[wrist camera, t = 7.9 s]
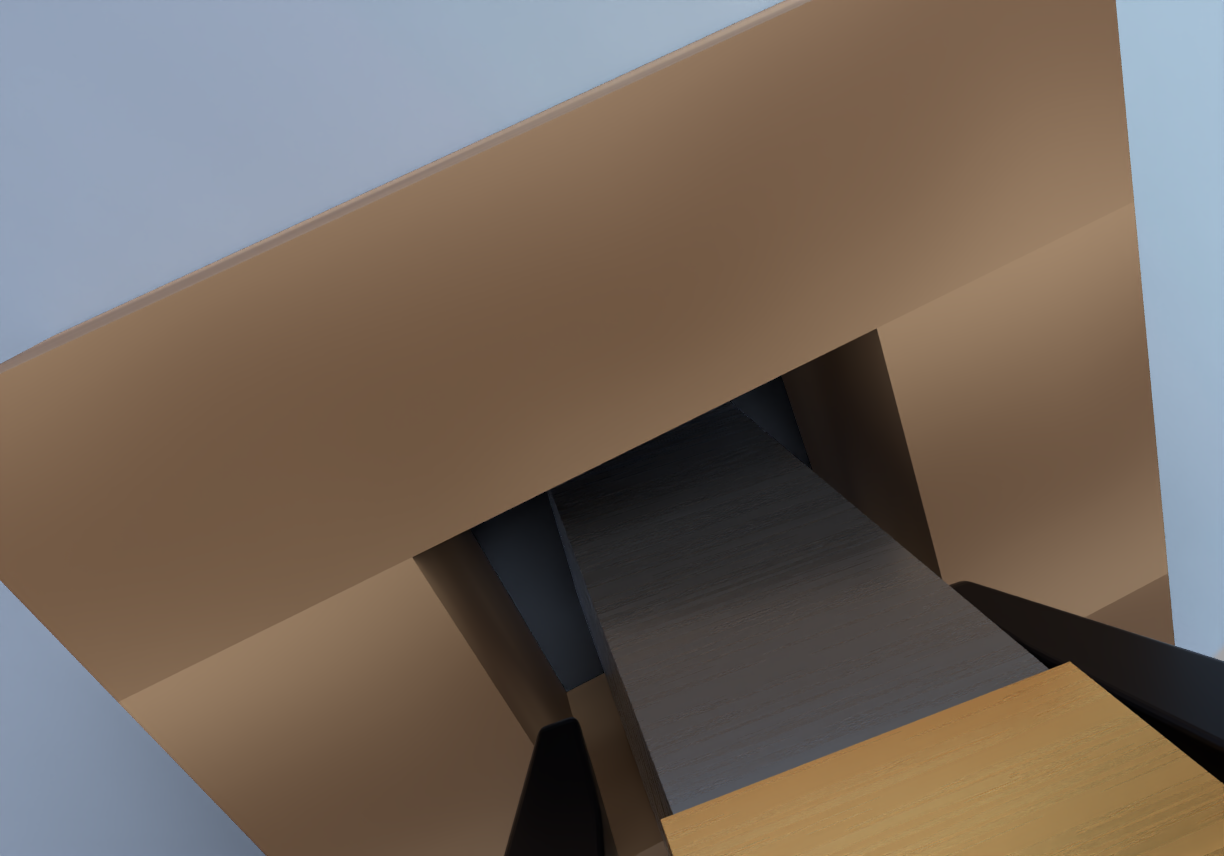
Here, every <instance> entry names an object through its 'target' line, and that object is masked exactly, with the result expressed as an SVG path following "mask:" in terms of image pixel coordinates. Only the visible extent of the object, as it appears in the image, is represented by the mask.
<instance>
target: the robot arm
mask: <svg viewBox="0 0 1224 856" xmlns="http://www.w3.org/2000/svg"><path fill="white" fill-rule="evenodd" d="M949 586H950V587H952V588H953V589H954V590H955V591H956V592H958V593H959V594H960V595H961V596H962V597H964V598H965V599H966V600H967V601H968V602H970V603H971V604H972V605H973V606H974V607H976V608H977V609H978V610H979V611H980V612H981V613H983V614H984V615H985V616H986V617H987V618H989V619H990V620H991V621H992V622H993V623H995V624H996V625H997V626H998V627H999V628H1001V629H1002V630H1003V631H1004V632H1005V633H1007V634H1008V635H1009V636H1010V637H1011V638H1013V639H1014V640H1015V641H1016V642H1017V643H1019V644H1020V645H1021V646H1022V647H1023V648H1024V649H1026V650H1027V651H1028V652H1029V653H1030V654H1032V655H1033V656H1034V657H1035V658H1036V659H1038V660H1039V661H1040V662H1041V663H1042V664H1044V665H1045V666H1046V667H1047V668H1048V669H1052V668H1054V667H1057V666H1060V665H1062V664H1065V663H1067V662H1071V663H1072V664H1074V665H1075V666H1076V667H1077V668H1079V669H1080V670H1081V671H1082V672H1084V673H1085V674H1086V675H1087V676H1089V677H1090V678H1091V679H1092V680H1094V681H1095V682H1096V683H1097V684H1099V685H1100V686H1101V687H1102V688H1104V689H1105V690H1106V691H1107V692H1109V693H1110V694H1111V695H1112V696H1114V697H1115V698H1116V699H1117V700H1119V701H1120V702H1121V703H1122V704H1124V705H1125V706H1126V707H1127V708H1129V709H1130V710H1131V711H1133V712H1134V713H1135V714H1136V715H1138V716H1139V717H1140V718H1141V719H1143V720H1144V721H1145V722H1146V723H1148V724H1149V725H1150V726H1151V727H1153V728H1154V729H1155V730H1156V731H1158V732H1159V733H1160V734H1161V735H1163V736H1164V737H1165V738H1166V739H1168V740H1169V741H1170V742H1171V743H1173V744H1174V745H1175V746H1176V747H1178V748H1179V749H1180V750H1181V751H1183V752H1184V753H1185V754H1186V755H1188V756H1189V757H1190V758H1191V759H1193V760H1194V761H1195V762H1196V763H1198V764H1199V765H1200V766H1201V767H1203V768H1204V769H1205V770H1206V771H1208V772H1209V773H1210V774H1211V775H1213V776H1214V777H1215V778H1216V779H1218V780H1219V781H1220V782H1221V783H1223V784H1224V661H1221V660H1218V659H1215V658H1212V657H1209V656H1206V655H1202V654H1199V653H1196V652H1193V651H1190V650H1187V649H1183V648H1180V647H1177V646H1174V645H1171V644H1167V643H1164V642H1161V641H1158V640H1155V639H1152V638H1148V637H1145V636H1142V635H1139V634H1136V633H1133V632H1129V631H1126V630H1123V629H1120V628H1117V627H1114V626H1110V625H1107V624H1104V623H1101V622H1098V621H1094V620H1091V619H1088V618H1085V617H1082V616H1079V615H1075V614H1072V613H1069V612H1066V611H1063V610H1060V609H1056V608H1053V607H1050V606H1047V605H1044V604H1041V603H1037V602H1034V601H1031V600H1028V599H1025V598H1021V597H1018V596H1015V595H1012V594H1009V593H1006V592H1002V591H999V590H996V589H993V588H990V587H987V586H983V585H980V584H977V583H974V582H970V581H959V582H956V583H953V584H950V585H949ZM504 856H618V852H617V849H616V845H615V842H614V838H613V835H612V831H611V828H610V824H609V821H608V817H607V814H606V810H605V807H604V803H603V800H602V796H601V792H600V789H599V786H598V782H597V779H596V775H595V772H594V769H593V765H592V762H591V759H590V756H589V752H588V749H587V746H586V743H585V739H584V736H583V733H582V730H581V726H580V723H579V721H578V720H577V719H576V718H574V717H569V718H567V719H564V720H561V721H558V722H555V723H552V724H549V725H547V726H544V727H542V728H541V729H540V730H539V732H538V735H537V738H536V741H535V745H534V748H533V752H532V756H531V759H530V763H529V766H528V770H527V774H526V777H525V781H524V785H523V788H522V792H521V795H520V799H519V803H518V806H517V810H516V813H515V817H514V821H513V824H512V828H511V831H510V835H509V839H508V842H507V846H506V849H505V853H504Z"/></svg>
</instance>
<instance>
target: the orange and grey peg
mask: <svg viewBox="0 0 1224 856" xmlns="http://www.w3.org/2000/svg"><path fill="white" fill-rule="evenodd" d="M547 493H548V497H549V500H550V504H551V507H552V510H553V514H554V517H555V521H556V524H557V527H558V531H559V534H560V538H561V541H562V544H563V548H564V551H565V554H566V558H567V561H568V565H569V568H570V571H571V575H572V578H573V582H574V585H575V588H576V592H577V595H578V599H579V602H580V605H581V608H582V610H583V613H584V616H585V619H586V622H587V625H588V627H589V630H590V633H591V636H592V639H593V642H594V645H595V647H596V650H597V653H598V656H599V659H600V662H601V665H602V667H603V670H604V673H605V676H606V679H607V682H608V685H609V687H610V690H611V693H612V696H613V699H614V702H615V705H616V707H617V710H618V713H619V716H620V719H621V722H622V724H623V727H624V730H625V733H626V736H627V739H628V742H629V744H630V747H631V750H632V753H633V756H634V759H635V762H636V764H637V767H638V770H639V773H640V776H641V779H642V782H643V784H644V787H645V790H646V793H647V796H648V799H649V802H650V804H651V807H652V810H653V813H654V816H655V819H656V821H657V824H658V827H659V830H660V833H661V836H662V839H663V841H664V844H665V847H666V850H667V853H668V856H1224V784H1223V783H1221V782H1220V781H1219V780H1218V779H1216V778H1215V777H1214V776H1213V775H1211V774H1210V773H1209V772H1208V771H1206V770H1205V769H1204V768H1203V767H1201V766H1200V765H1199V764H1198V763H1196V762H1195V761H1194V760H1193V759H1191V758H1190V757H1189V756H1188V755H1186V754H1185V753H1184V752H1183V751H1181V750H1180V749H1179V748H1178V747H1176V746H1175V745H1174V744H1173V743H1171V742H1170V741H1169V740H1168V739H1166V738H1165V737H1164V736H1163V735H1161V734H1160V733H1159V732H1158V731H1156V730H1155V729H1154V728H1153V727H1151V726H1150V725H1149V724H1148V723H1146V722H1145V721H1144V720H1143V719H1141V718H1140V717H1139V716H1138V715H1136V714H1135V713H1134V712H1133V711H1131V710H1130V709H1129V708H1127V707H1126V706H1125V705H1124V704H1122V703H1121V702H1120V701H1119V700H1117V699H1116V698H1115V697H1114V696H1112V695H1111V694H1110V693H1109V692H1107V691H1106V690H1105V689H1104V688H1102V687H1101V686H1100V685H1099V684H1097V683H1096V682H1095V681H1094V680H1092V679H1091V678H1090V677H1089V676H1087V675H1086V674H1085V673H1084V672H1082V671H1081V670H1080V669H1079V668H1077V667H1076V666H1075V665H1074V664H1072V663H1071V662H1067V663H1065V664H1062V665H1060V666H1057V667H1054V668H1052V669H1048V668H1047V667H1046V666H1045V665H1044V664H1042V663H1041V662H1040V661H1039V660H1038V659H1036V658H1035V657H1034V656H1033V655H1032V654H1030V653H1029V652H1028V651H1027V650H1026V649H1024V648H1023V647H1022V646H1021V645H1020V644H1019V643H1017V642H1016V641H1015V640H1014V639H1013V638H1011V637H1010V636H1009V635H1008V634H1007V633H1005V632H1004V631H1003V630H1002V629H1001V628H999V627H998V626H997V625H996V624H995V623H993V622H992V621H991V620H990V619H989V618H987V617H986V616H985V615H984V614H983V613H981V612H980V611H979V610H978V609H977V608H976V607H974V606H973V605H972V604H971V603H970V602H968V601H967V600H966V599H965V598H964V597H962V596H961V595H960V594H959V593H958V592H956V591H955V590H954V589H953V588H952V587H950V586H949V585H948V584H947V583H946V582H944V581H943V580H942V579H941V578H940V577H938V576H937V575H936V574H935V573H934V572H933V571H931V570H930V569H929V568H928V567H927V566H925V565H924V564H923V563H922V562H921V561H919V560H918V559H917V558H916V557H915V556H913V555H912V554H911V553H910V552H909V551H907V550H906V549H905V548H904V547H903V546H901V545H900V544H899V543H898V542H897V541H896V540H894V539H893V538H892V537H891V536H890V535H888V534H887V533H886V532H885V531H884V530H882V529H881V528H880V527H879V526H878V525H876V524H875V523H874V522H873V521H872V520H870V519H869V518H868V517H867V516H866V515H864V514H863V513H862V512H861V511H860V510H858V509H857V508H856V507H855V506H854V505H853V504H851V503H850V502H849V501H848V500H847V499H845V498H844V497H843V496H842V495H841V494H839V493H838V492H837V491H836V490H835V489H833V488H832V487H831V486H830V485H829V484H827V483H826V482H825V481H824V480H823V479H821V478H820V477H819V476H818V475H817V474H816V473H814V472H813V471H812V470H811V469H810V468H808V467H807V466H806V465H805V464H804V463H802V462H801V461H800V460H799V459H798V458H796V457H795V456H794V455H793V454H792V453H790V452H789V451H788V450H787V449H786V448H784V447H783V446H782V445H781V444H780V443H778V442H777V441H776V440H775V439H774V438H773V437H771V436H770V435H769V434H768V433H767V432H765V431H764V430H763V429H762V428H761V427H759V426H758V425H757V424H756V423H755V422H753V421H752V420H751V419H750V418H749V417H747V416H746V415H745V414H744V413H743V412H741V411H740V410H739V409H738V408H737V407H735V406H734V405H733V404H732V403H731V402H730V401H728V402H726V403H724V404H722V405H720V406H718V407H716V408H714V409H712V410H710V411H708V412H706V413H704V414H702V415H700V416H698V417H696V418H694V419H692V420H690V421H688V422H686V423H683V424H681V425H679V426H677V427H675V428H673V429H671V430H669V431H667V432H665V433H663V434H661V435H659V436H657V437H655V438H653V439H651V440H649V441H647V442H645V443H643V444H641V445H639V446H637V447H635V448H633V449H631V450H629V451H627V452H625V453H623V454H621V455H619V456H616V457H614V458H612V459H610V460H608V461H606V462H604V463H602V464H600V465H598V466H596V467H594V468H592V469H590V470H588V471H586V472H584V473H582V474H580V475H578V476H576V477H574V478H572V479H570V480H568V481H566V482H564V483H562V484H560V485H558V486H556V487H554V488H552V489H550V490H547Z"/></svg>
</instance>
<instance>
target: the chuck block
mask: <svg viewBox="0 0 1224 856" xmlns="http://www.w3.org/2000/svg"><path fill="white" fill-rule="evenodd" d="M779 376H781V377H782V380H783V383H784V386H785V389H786V392H787V395H788V398H789V401H790V404H791V407H792V410H793V413H794V416H795V419H796V422H797V425H798V428H799V431H800V434H801V437H802V440H803V443H804V446H805V449H806V452H807V455H808V458H809V461H810V464H811V467H812V470H813V472H814V473H816V474H817V475H818V476H819V477H820V478H821V479H823V480H824V481H825V482H826V483H827V484H829V485H830V486H831V487H832V488H833V489H835V490H836V491H837V492H838V493H839V494H841V495H842V496H843V497H844V498H845V499H847V500H848V501H849V502H850V503H851V504H853V505H854V506H855V507H856V508H857V509H858V510H860V511H861V512H862V513H863V514H864V515H866V516H867V517H868V518H869V519H870V520H872V521H873V522H874V523H875V524H876V525H878V526H879V527H880V528H881V529H882V530H884V531H885V532H886V533H887V534H888V535H890V536H891V537H892V538H893V539H894V540H896V541H897V542H898V543H899V544H900V545H901V546H903V547H904V548H905V549H906V550H907V551H909V552H910V553H911V554H912V555H913V556H915V557H916V558H917V559H918V560H919V561H921V562H922V563H923V564H924V565H925V566H927V567H928V568H929V569H930V570H931V571H933V572H934V573H935V574H936V575H937V576H938V577H940V578H941V579H942V580H943V581H944V582H946V583H947V584H948V585H950V584H953V583H956V582H959V581H970V582H974V583H977V584H980V585H983V586H987V587H990V588H993V589H996V590H999V591H1002V592H1006V593H1009V594H1012V595H1015V596H1018V597H1021V598H1025V599H1028V600H1031V601H1034V602H1037V603H1041V604H1044V605H1047V606H1050V607H1053V608H1056V609H1060V610H1063V611H1066V612H1069V613H1072V614H1075V615H1079V616H1082V617H1085V618H1088V619H1091V620H1094V621H1098V622H1101V623H1104V624H1107V625H1110V626H1114V627H1117V628H1120V629H1123V630H1126V631H1129V632H1133V633H1136V634H1139V635H1142V636H1145V637H1148V638H1152V639H1155V640H1158V641H1161V642H1164V643H1167V644H1171V645H1174V646H1175V642H1174V631H1173V620H1172V609H1171V599H1170V588H1169V577H1168V566H1167V555H1166V544H1165V533H1164V522H1163V512H1162V501H1161V490H1160V479H1159V468H1158V457H1157V446H1156V435H1155V425H1154V414H1153V403H1152V392H1151V381H1150V370H1149V359H1148V348H1147V338H1146V327H1145V316H1144V305H1143V294H1142V283H1141V272H1140V261H1139V251H1138V240H1137V229H1136V218H1135V207H1134V196H1133V185H1132V174H1131V163H1130V153H1129V142H1128V131H1127V120H1126V109H1125V98H1124V87H1123V76H1122V66H1121V55H1120V44H1119V33H1118V22H1117V11H1116V0H785V1H783V2H781V3H778V4H776V5H774V6H772V7H770V8H768V9H765V10H763V11H761V12H759V13H757V14H754V15H752V16H750V17H748V18H746V19H744V20H741V21H739V22H737V23H735V24H733V25H730V26H728V27H726V28H724V29H722V30H720V31H717V32H715V33H713V34H711V35H709V36H706V37H704V38H702V39H700V40H698V41H696V42H693V43H691V44H689V45H687V46H685V47H682V48H680V49H678V50H676V51H674V52H672V53H669V54H667V55H665V56H663V57H661V58H659V59H656V60H654V61H652V62H650V63H648V64H645V65H643V66H641V67H639V68H637V69H635V70H632V71H630V72H628V73H626V74H624V75H621V76H619V77H617V78H615V79H613V80H611V81H608V82H606V83H604V84H602V85H600V86H597V87H595V88H593V89H591V90H589V91H587V92H584V93H582V94H580V95H578V96H576V97H573V98H571V99H569V100H567V101H565V102H563V103H560V104H558V105H556V106H554V107H552V108H550V109H547V110H545V111H543V112H541V113H539V114H536V115H534V116H532V117H530V118H528V119H526V120H523V121H521V122H519V123H517V124H515V125H512V126H510V127H508V128H506V129H504V130H502V131H499V132H497V133H495V134H493V135H491V136H488V137H486V138H484V139H482V140H480V141H478V142H475V143H473V144H471V145H469V146H467V147H464V148H462V149H460V150H458V151H456V152H454V153H451V154H449V155H447V156H445V157H443V158H440V159H438V160H436V161H434V162H432V163H430V164H427V165H425V166H423V167H421V168H419V169H417V170H414V171H412V172H410V173H408V174H406V175H403V176H401V177H399V178H397V179H395V180H393V181H390V182H388V183H386V184H384V185H382V186H379V187H377V188H375V189H373V190H371V191H369V192H366V193H364V194H362V195H360V196H358V197H355V198H353V199H351V200H349V201H347V202H345V203H342V204H340V205H338V206H336V207H334V208H331V209H329V210H327V211H325V212H323V213H321V214H318V215H316V216H314V217H312V218H310V219H307V220H305V221H303V222H301V223H299V224H297V225H294V226H292V227H290V228H288V229H286V230H284V231H281V232H279V233H277V234H275V235H273V236H270V237H268V238H266V239H264V240H262V241H260V242H257V243H255V244H253V245H251V246H249V247H246V248H244V249H242V250H240V251H238V252H236V253H233V254H231V255H229V256H227V257H225V258H222V259H220V260H218V261H216V262H214V263H212V264H209V265H207V266H205V267H203V268H201V269H198V270H196V271H194V272H192V273H190V274H188V275H185V276H183V277H181V278H179V279H177V280H174V281H172V282H170V283H168V284H166V285H164V286H161V287H159V288H157V289H155V290H153V291H151V292H148V293H146V294H144V295H142V296H140V297H137V298H135V299H133V300H131V301H129V302H127V303H124V304H122V305H120V306H118V307H116V308H113V309H111V310H109V311H107V312H105V313H103V314H100V315H98V316H96V317H94V318H92V319H89V320H87V321H85V322H83V323H81V324H79V325H76V326H74V327H72V328H70V329H68V330H65V331H63V332H61V333H59V334H57V335H55V336H52V337H50V338H49V339H47V340H45V341H43V342H41V343H39V344H37V345H35V346H33V347H32V348H30V349H28V350H26V351H24V352H22V353H20V354H18V355H16V356H15V357H13V358H11V359H9V360H7V361H5V362H3V363H1V364H0V580H1V581H2V582H3V584H4V585H5V586H6V587H7V588H8V589H9V590H10V591H11V592H12V593H13V594H14V595H15V596H16V597H17V598H18V599H19V600H20V601H21V602H22V603H23V604H24V605H25V606H26V607H27V608H28V609H29V610H30V611H31V613H32V614H33V615H34V616H35V617H36V618H37V619H38V620H39V621H40V622H41V623H42V624H43V625H44V626H45V627H46V628H47V629H48V630H49V631H50V632H51V633H52V634H53V635H54V636H55V637H56V638H57V639H58V640H59V641H60V643H61V644H62V645H63V646H64V647H65V648H66V649H67V650H68V651H69V652H70V653H71V654H72V655H73V656H74V657H75V658H76V659H77V660H78V661H79V662H80V663H81V664H82V665H83V666H84V667H85V668H86V669H87V670H88V672H89V673H90V674H91V675H92V676H93V677H94V678H95V679H96V680H97V681H98V682H99V683H100V684H101V685H102V686H103V687H104V688H105V689H106V690H107V691H108V692H109V693H110V694H111V695H112V696H113V697H114V698H115V699H116V701H117V702H118V703H119V704H120V705H121V706H122V707H123V708H124V709H125V710H126V711H127V712H128V713H129V714H130V715H131V716H132V717H133V718H134V719H135V720H136V721H137V722H138V723H139V724H140V725H141V726H142V727H143V728H144V730H145V731H146V732H147V733H148V734H149V735H150V736H151V737H152V738H153V739H154V740H155V741H156V742H157V743H158V744H159V745H160V746H161V747H162V748H163V749H164V750H165V751H166V752H167V753H168V754H169V755H170V756H171V757H172V759H173V760H174V761H175V762H176V763H177V764H178V765H179V766H180V767H181V768H182V769H183V770H184V771H185V772H186V773H187V774H188V775H189V776H190V777H191V778H192V779H193V780H194V781H195V782H196V783H197V784H198V785H199V786H200V788H201V789H202V790H203V791H204V792H205V793H206V794H207V795H208V796H209V797H210V798H211V799H212V800H213V801H214V802H215V803H216V804H217V805H218V806H219V807H220V808H221V809H222V810H223V811H224V812H225V813H226V814H227V815H228V816H229V818H230V819H231V820H232V821H233V822H234V823H235V824H236V825H237V826H238V827H239V828H240V829H241V830H242V831H243V832H244V833H245V834H246V835H247V836H248V837H249V838H250V839H251V840H252V841H253V842H254V843H255V844H256V845H257V847H258V848H259V849H260V850H261V851H262V852H263V853H264V854H265V855H266V856H504V853H505V849H506V846H507V842H508V839H509V835H510V831H511V828H512V824H513V821H514V817H515V813H516V810H517V806H518V803H519V799H520V795H521V792H522V788H523V785H524V781H525V777H526V774H527V770H528V766H529V763H530V759H531V756H532V752H533V748H534V745H535V741H536V738H537V735H538V732H539V730H540V729H541V728H542V727H544V726H547V725H549V724H552V723H555V722H558V721H561V720H564V719H567V718H569V717H574V718H576V719H577V720H578V721H579V723H580V726H581V730H582V733H583V736H584V739H585V743H586V746H587V749H588V752H589V756H590V759H591V762H592V765H593V769H594V772H595V775H596V779H597V782H598V786H599V789H600V792H601V796H602V800H603V803H604V807H605V810H606V814H607V817H608V821H609V824H610V828H611V831H612V835H613V838H614V842H615V845H616V849H617V852H618V856H668V853H667V850H666V847H665V844H664V841H663V839H662V836H661V833H660V830H659V827H658V824H657V821H656V819H655V816H654V813H653V810H652V807H651V804H650V802H649V799H648V796H647V793H646V790H645V787H644V784H643V782H642V779H641V776H640V773H639V770H638V767H637V764H636V762H635V759H634V756H633V753H632V750H631V747H630V744H629V742H628V739H627V736H626V733H625V730H624V727H623V724H622V722H621V719H620V716H619V713H618V710H617V707H616V705H615V702H614V699H613V696H612V693H611V690H610V687H609V685H608V682H607V679H606V676H605V673H603V674H601V675H599V676H597V677H595V678H593V679H592V680H590V681H588V682H586V683H584V684H582V685H580V686H578V687H576V688H574V689H572V690H570V691H568V692H566V691H565V689H564V687H563V686H562V684H561V682H560V681H559V679H558V677H557V676H556V674H555V672H554V670H553V669H552V667H551V665H550V664H549V662H548V660H547V659H546V657H545V655H544V654H543V652H542V650H541V648H540V647H539V645H538V643H537V642H536V640H535V638H534V637H533V635H532V633H531V632H530V630H529V628H528V627H527V625H526V623H525V621H524V620H523V618H522V616H521V615H520V613H519V611H518V610H517V608H516V606H515V605H514V603H513V601H512V599H511V598H510V596H509V594H508V593H507V591H506V589H505V588H504V586H503V584H502V583H501V581H500V579H499V578H498V576H497V574H496V572H495V571H494V569H493V567H492V566H491V564H490V562H489V561H488V559H487V557H486V556H485V554H484V552H483V551H482V549H481V547H480V545H479V544H478V542H477V540H476V539H475V537H474V535H473V534H472V532H471V530H470V528H472V527H474V526H476V525H478V524H481V523H483V522H485V521H487V520H489V519H491V518H493V517H495V516H497V515H499V514H501V513H503V512H505V511H507V510H509V509H511V508H513V507H515V506H517V505H519V504H521V503H523V502H525V501H527V500H529V499H531V498H533V497H535V496H537V495H539V494H541V493H543V492H545V491H547V490H550V489H552V488H554V487H556V486H558V485H560V484H562V483H564V482H566V481H568V480H570V479H572V478H574V477H576V476H578V475H580V474H582V473H584V472H586V471H588V470H590V469H592V468H594V467H596V466H598V465H600V464H602V463H604V462H606V461H608V460H610V459H612V458H614V457H616V456H619V455H621V454H623V453H625V452H627V451H629V450H631V449H633V448H635V447H637V446H639V445H641V444H643V443H645V442H647V441H649V440H651V439H653V438H655V437H657V436H659V435H661V434H663V433H665V432H667V431H669V430H671V429H673V428H675V427H677V426H679V425H681V424H683V423H686V422H688V421H690V420H692V419H694V418H696V417H698V416H700V415H702V414H704V413H706V412H708V411H710V410H712V409H714V408H716V407H718V406H720V405H722V404H724V403H726V402H728V401H730V400H732V399H734V398H736V397H738V396H740V395H742V394H744V393H746V392H748V391H750V390H752V389H755V388H757V387H759V386H761V385H763V384H765V383H767V382H769V381H771V380H773V379H775V378H777V377H779Z"/></svg>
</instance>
